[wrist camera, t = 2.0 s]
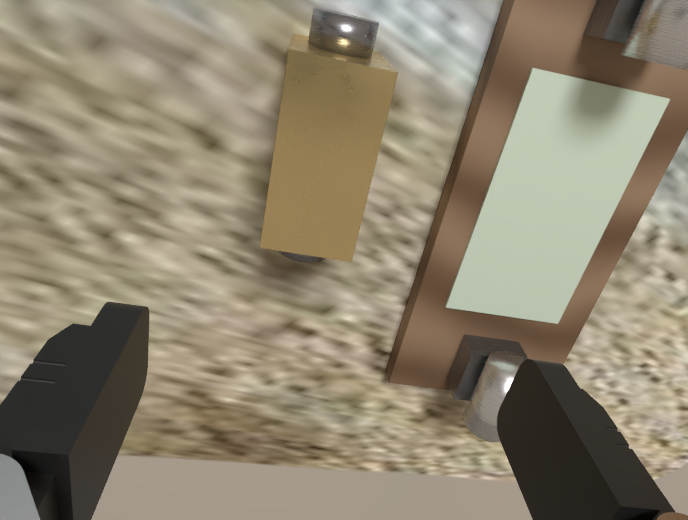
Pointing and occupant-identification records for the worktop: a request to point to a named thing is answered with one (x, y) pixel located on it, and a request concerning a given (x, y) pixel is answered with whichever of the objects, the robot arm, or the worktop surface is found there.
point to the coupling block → (327, 138)
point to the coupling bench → (543, 191)
